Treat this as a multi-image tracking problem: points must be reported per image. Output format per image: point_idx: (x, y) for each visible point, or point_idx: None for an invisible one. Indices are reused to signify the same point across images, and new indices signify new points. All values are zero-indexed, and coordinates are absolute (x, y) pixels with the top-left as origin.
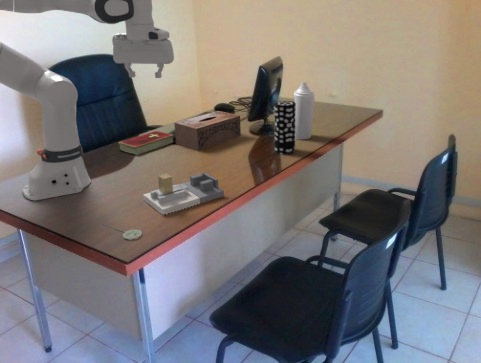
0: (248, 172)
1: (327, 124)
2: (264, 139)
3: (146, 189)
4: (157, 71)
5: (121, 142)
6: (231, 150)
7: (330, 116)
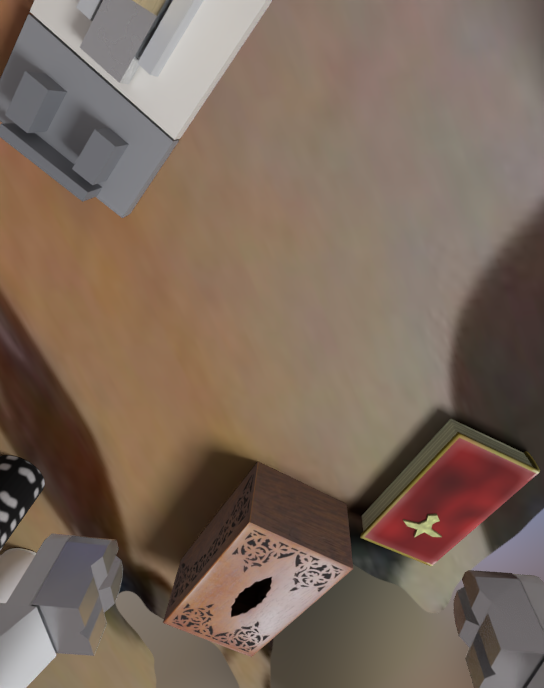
0: (31, 322)
1: None
2: None
3: (303, 118)
4: (15, 624)
5: (527, 471)
6: (161, 472)
7: None
